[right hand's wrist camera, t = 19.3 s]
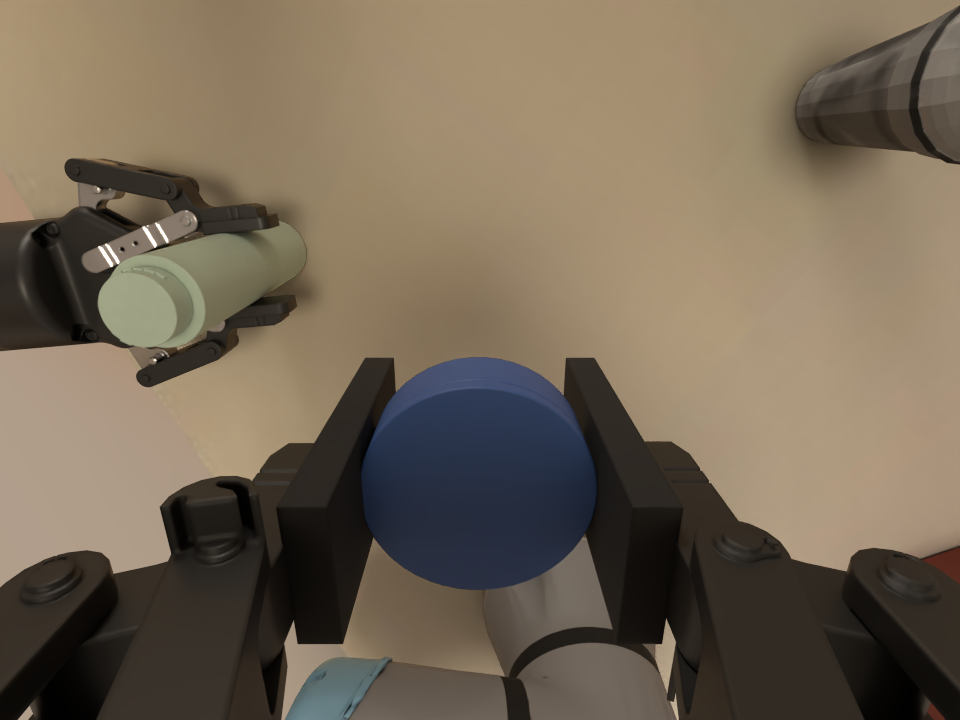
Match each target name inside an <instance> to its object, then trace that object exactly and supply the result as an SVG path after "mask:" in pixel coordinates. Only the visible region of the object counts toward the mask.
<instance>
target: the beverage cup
mask: <svg viewBox="0 0 960 720" xmlns="http://www.w3.org/2000/svg"><path fill="white" fill-rule="evenodd" d="M796 118H797V121H798V125H799V128H800V129H801V131H802V132H803V133H804V134H805V135H806V136H807V137H808V138H810V139H812V140H814V141H819V142H826V143H829V144H837V145H847V146H857V147H868V148H879V149H890V150H900V151H911V152H917V153H918V154H921V155H925V156H928V157H932V158H936V159H941V160H943V161H945V162H946V163H952V164H960V6H958V7H956V8H954V9H953V10H951V11H949V12H947V13H946V14H944V15H942V16H940V17H939V18H937V19H935V20H933V21H932V22H929V23H927V24H925V25H922V26H920V27H918V28H915V29H913V30H910V31H908V32H906V33H903V34H901V35H899V36H896V37H894V38H892V39H889V40H887V41H885V42H882V43H880V44H878V45H875V46H873V47H871V48H868V49H866V50H864V51H861V52H859V53H857V54H854V55H852V56H850V57H847V58H845V59H843V60H841V61H839V62H837V63H836V64H834V65H832V66H830V67H827V68H825V69H823V70H822V71H820V72H818V73H816V74H815V75H814V76H813V77H812V78H811V79H810V80H809V81H808V82H807V83H806V85H805V87H804V88H803V90H802V92H801V93H800V96H799V99H798V103H797V106H796Z"/></svg>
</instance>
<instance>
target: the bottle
mask: <svg viewBox="0 0 960 720" xmlns="http://www.w3.org/2000/svg"><path fill="white" fill-rule="evenodd" d="M279 224H280V226H277V227H274V228H271V229H265V230H255V231H244V232H234V233H223V234H214V235H210V236H207V237H203V238H199V239H196V240H192V241H188V242H185V243H181V244H177V245H174V246H170V247H166V248H163V249H159V250H155V251H152V252H148V253H144V254H141V255H137V256H134V257H130V258H128V259H126V260H125V261H123V262H122V263H120V264H119V265H118V266H117V267H116V269H115V270H114V272H113V273H112V275H111V277H110V278H109V279H108V280H107V281H106V282H105V283H104V285H103V286H102V288H101V290H100V293H99V297H98V307H99V312H100V315H101V317H102V320H103V321H104V323H105V325H106V326H107V327H108V329H109V330H110V331H111V332H112V334H113V335H115V336H116V337H118V338H119V339H120V341H122V342H124V343H126V344H128V345H130V346H131V345H134V346H138V347H155V346H156V347H163V348H172V347H178V346H182V345H184V344H186V343H188V342H190V341H192V340H193V339H195V338H196V337H198V336H200V335H201V334H203V333H205V332H206V331H208V330H209V329H211V328H213V327H214V326H216V325H218V324H219V323H221V322H222V321H224V320H226V319H227V318H229V317H230V316H232V315H234V314H235V313H237V312H239V311H240V310H242V309H243V308H245V307H247V306H248V305H250V304H251V303H253V302H255V301H256V300H258V299H260V298H261V297H263V296H264V295H266V294H268V293H269V292H271V291H273V290H274V289H276V288H277V287H279V286H281V285H282V284H284V283H285V282H287V281H289V280H290V279H292V278H294V277H295V276H297V275H298V274H299V273H300V272H301V270H302V269H303V267H304V265H305V262H306V247H305V244H304V241H303V239H302V237H301V236H300V234H299V233H298V232H297V231H296V230H295V229H294V228H293V227H291V226H290V225H288V224H286V223H284V222H282V221H279Z"/></svg>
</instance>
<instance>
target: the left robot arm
mask: <svg viewBox="0 0 960 720" xmlns="http://www.w3.org/2000/svg"><path fill="white" fill-rule="evenodd" d="M65 172H66V174H67V176H68V177H69V178H70V179H71V180H73V181H75V182H78V196H79V207H76V208H74V209H72V210H71V211H70V212H68V213H67V214H66V215H65V216H63V217H60V218H49V219H39V220H28V221H17V222H7V223H0V351H7V350H18V349H30V348H42V347H54V346H65V345H76V344H88V343H98V342H104V343H109V344H112V345H115V346H117V347H120V348H129V350H130V351H131V353H132V354H133V356H134V357H135V359H136V360H137V362H138V363H139V365H140V366H141V368H142V369H141V370H139V371H138V372H137V375H136V378H137V381H138V382H139V383H140V384H141V385H142V386H145V387H152V386H154V385H157V384H159V383H162V382H164V381H167V380H169V379H172V378H174V377H177V376H179V375H181V374H184V373H186V372H189V371H191V370H194V369H196V368H199V367H201V366H204V365H206V364H209V363H211V362H214V361H216V360H218V359H220V358H221V357H222V356H224V355H225V354H226V353H228V352H229V351H230V350H232V349H233V348H234V347H236V346H237V345H238V343H239V338H238V336H237V328H245V327H257V326H269V325H275V324H277V323H279V322H281V321H283V320H284V319H285V318H286V317H288V316H289V312H291V311H292V310H293V309H295V308H296V307H297V303H296V299H295V295H284V296H272V297H261V298H260V299H258V300H256V301H255V302H253V303H251V304H250V305H248V306H247V307H245V308H243V309H242V310H240V311H239V312H237V313H235V314H234V315H232V316H230V317H229V318H227V319H226V320H224V321H222V322H221V323H219V324H218V325H216V326H214V327H213V328H211V329H209V330H208V331H207V338H206V339H204V340H201V341H199V342H197V343H194V344H192V345H189V346H187V347H184V348H182V349H180V350H177V347H172V348H163V347H156V346H155V347H138V346H134V345H131V346H130V345H128V344H126V343H124V342H122V341H120V339H119V338H118V337H116V336H115V335H113V334H112V332H111V331H110V330H109V329H108V327H107V326H106V325H105V323H104V321H103V320H102V317H101V315H100V312H99V307H98V297H99V293H100V290H101V288H102V286H103V285H104V283H105V282H106V281H107V280H108V279H109V278H110V277H111V275H112V273H113V272H114V270H115V269H116V267H117V266H118V265H119V264H120V263H122V262H123V261H125V260H126V259H128V258H130V257H134V256H137V255H141V254H144V253H148V252H152V251H155V250H159V249H163V248H166V247H170V246H173V245H175V244H177V243H180V242H182V241H184V240H186V239H188V238H189V237H191V236H193V235H196V234H198V233H200V232H203V233H204V235H212V234H223V233H234V232H244V231H255V230H265V229H271V228H274V227H277V226H280V224H279V220H278V215H277V214H267V211H266V207H265V206H264V205H260V204H257V203H254V204H243V205H233V206H222V207H212V206H210V205H208V204H207V203H205V202H204V200H203V199H202V198H201V196H200V194H199V185H198V183H197V182H196V180H195V179H193V178H191V177H188V176H184V175H179V174H174V173H169V172H165V171H160V170H155V169H150V168H146V167H141V166H136V165H131V164H126V163H122V162H117V161H112V160H107V159H69V160H67V162H66V163H65ZM126 192H128V193H133V194H138V195H142V196H147V197H152V198H157V199H162V200H166V201H167V202H168V204H169V206H170V207H171V209H172V210H173V212H174V213H175V214H173V215H171V216H169V217H166V218H164V219H162V220H160V221H158V222H155V223H153V224H149V225H147V226H144V227H142V226H140V225H138V224H136V223H134V222H132V221H131V220H129V219H127V218H125V217H123V216H121V215H119V214H118V213H116V212H114V211H112V210H110V209H108V208H106V205H107V203H108V201H109V200H113V199H120V198H122V197H124V195H125V193H126Z"/></svg>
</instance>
